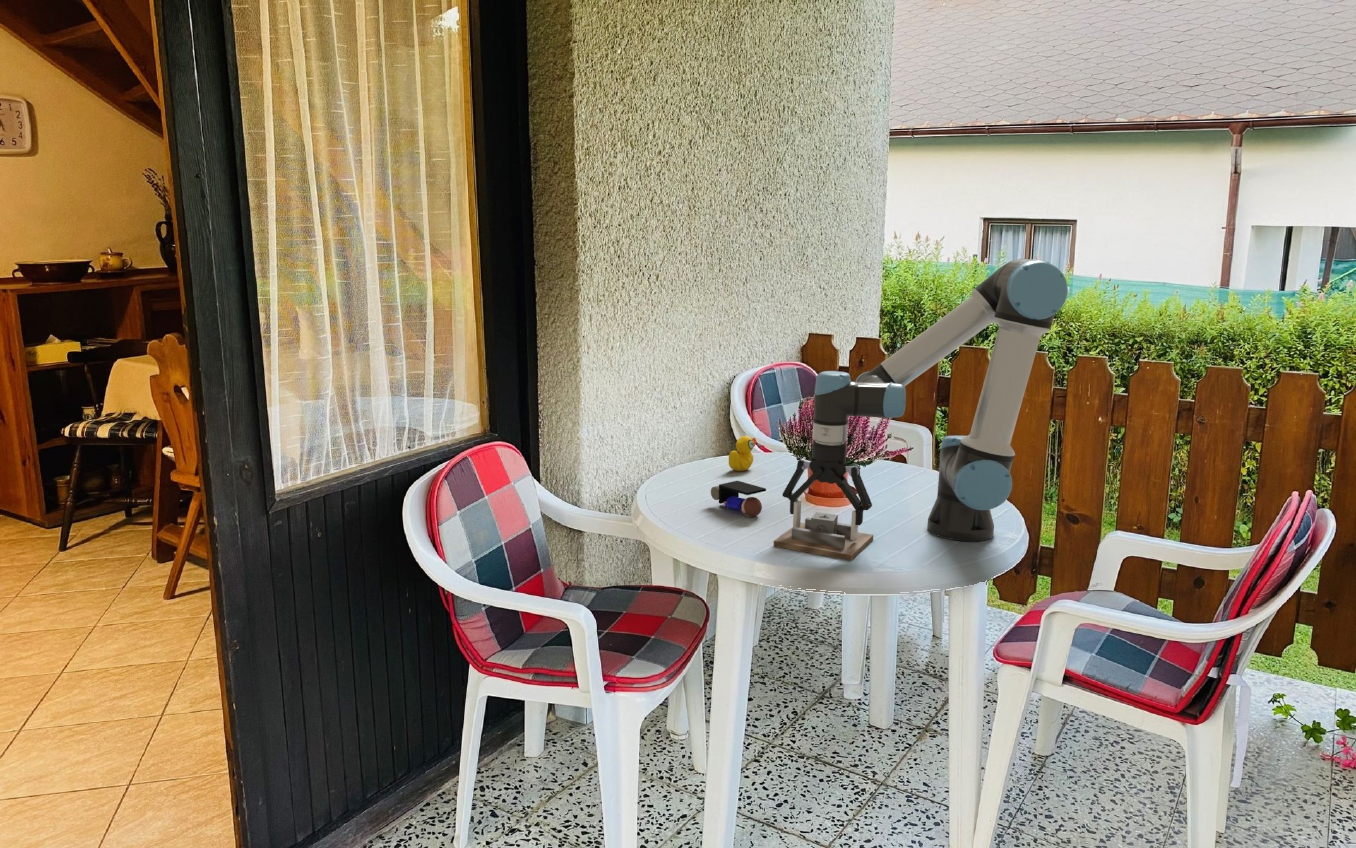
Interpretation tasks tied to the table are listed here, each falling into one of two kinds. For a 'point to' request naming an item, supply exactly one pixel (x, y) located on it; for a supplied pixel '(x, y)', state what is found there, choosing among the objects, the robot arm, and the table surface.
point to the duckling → (742, 454)
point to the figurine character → (730, 497)
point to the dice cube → (824, 522)
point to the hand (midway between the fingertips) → (824, 533)
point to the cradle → (824, 541)
